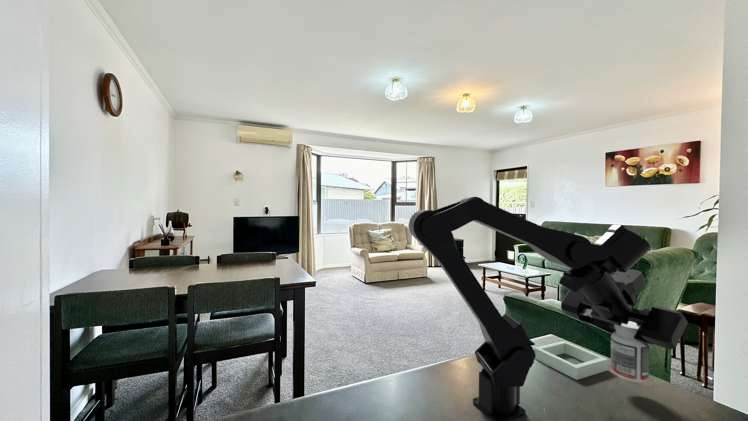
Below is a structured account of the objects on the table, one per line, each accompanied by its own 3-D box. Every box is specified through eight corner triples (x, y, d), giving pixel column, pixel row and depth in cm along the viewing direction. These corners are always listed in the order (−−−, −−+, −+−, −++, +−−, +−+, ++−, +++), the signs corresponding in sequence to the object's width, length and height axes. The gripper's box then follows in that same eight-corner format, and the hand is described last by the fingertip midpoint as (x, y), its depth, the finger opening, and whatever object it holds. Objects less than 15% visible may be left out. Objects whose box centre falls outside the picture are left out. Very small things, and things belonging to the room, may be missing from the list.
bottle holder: (576, 380, 65) (576, 368, 65) (534, 358, 75) (534, 347, 75) (607, 370, 69) (607, 359, 69) (563, 350, 79) (563, 340, 78)
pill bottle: (634, 368, 63) (635, 319, 63) (656, 384, 58) (657, 330, 58) (603, 366, 64) (604, 318, 64) (623, 382, 58) (624, 328, 58)
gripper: (683, 263, 50) (715, 323, 55) (570, 249, 68) (602, 295, 72) (653, 318, 47) (690, 377, 52) (543, 288, 65) (578, 334, 69)
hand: (633, 339), depth 61 cm, fingers closed on pill bottle, 6 cm apart
